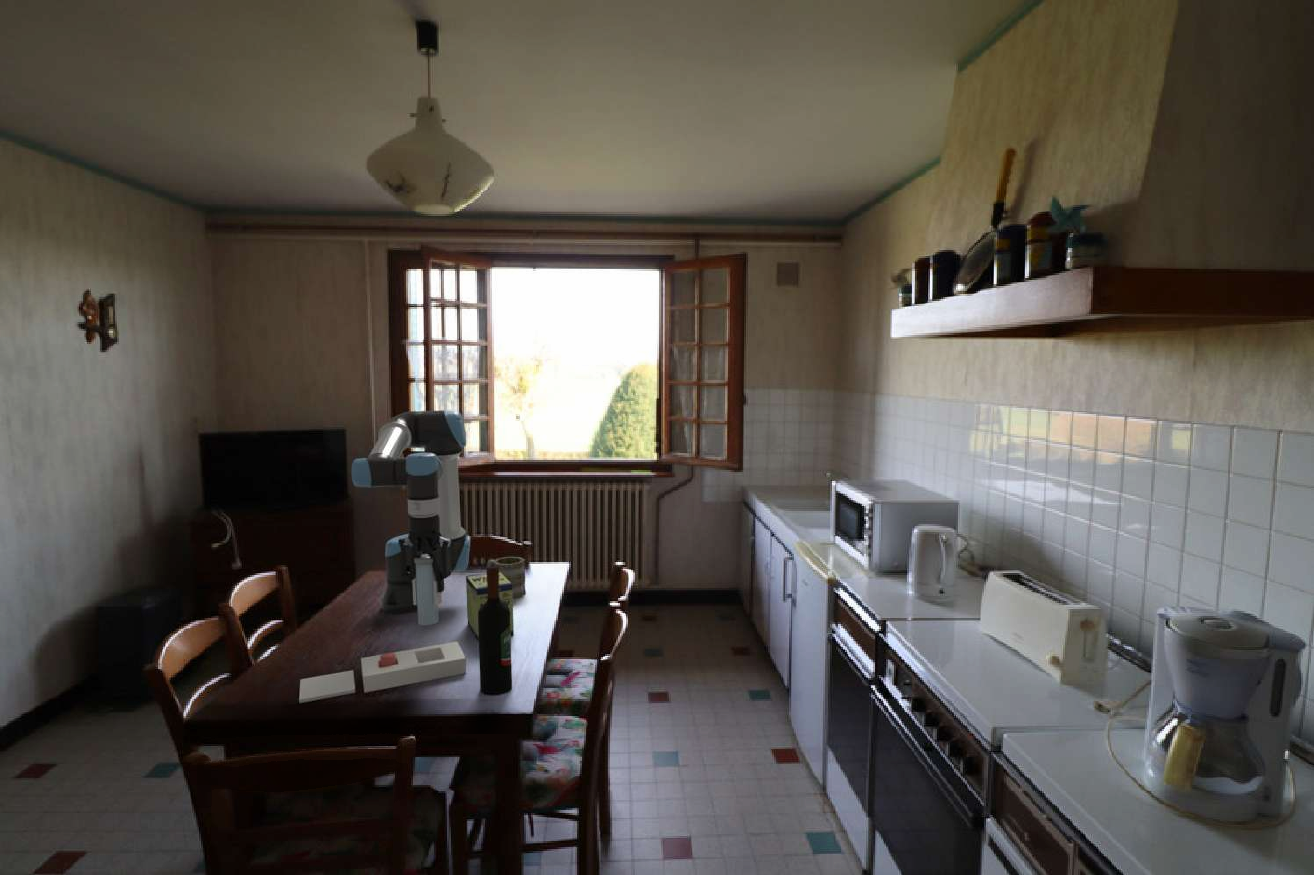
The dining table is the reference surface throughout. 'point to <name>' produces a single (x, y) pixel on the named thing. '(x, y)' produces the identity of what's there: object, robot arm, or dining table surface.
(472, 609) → the protein box
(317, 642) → the dining table surface
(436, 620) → the cylinder
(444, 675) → the block
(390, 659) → the plunger
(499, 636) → the wine bottle
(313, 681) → the pad
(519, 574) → the mug
